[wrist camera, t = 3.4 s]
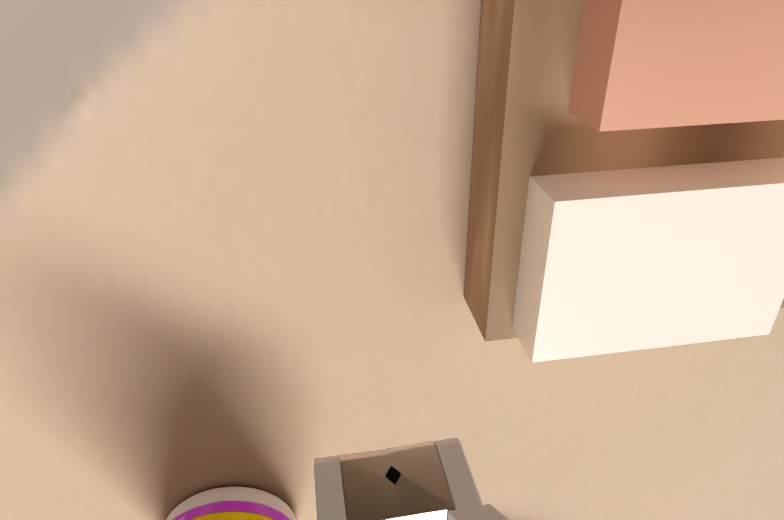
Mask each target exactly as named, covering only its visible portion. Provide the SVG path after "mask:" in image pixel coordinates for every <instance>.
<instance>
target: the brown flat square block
mask: <svg viewBox="0 0 784 520" xmlns="http://www.w3.org/2000/svg"><path fill="white" fill-rule="evenodd" d="M583 5H584V0H482V4H481V21H480V38H479V54H478V71H477V88H476V105H475V122H474V138H473V155H472V172H471V189H470V206H469V223H468V239H467V256H466V273H465V290H464V298H465V300H466V302H467V304H468V306H469V309H470V311H471V313H472V315H473V317H474V319H475V321H476V323H477V325H478V327H479V329H480V331H481V333H482V335H483V338H484V340H485V341H492V340H501V339H510V338H518V337H517V335H516V334H515V332H514V330H513V328H512V324H513V316H514V307H515V298H516V290H517V281H518V272H519V264H520V255H521V246H522V238H523V229H524V220H525V212H526V203H527V194H528V185H529V177H530V176H542V175H556V174H569V173H582V172H596V171H609V170H622V169H635V168H649V167H662V166H675V165H689V164H702V163H715V162H729V161H742V160H755V159H769V158H782V157H783V158H784V120H770V121H755V122H739V123H724V124H709V125H694V126H678V127H663V128H648V129H633V130H617V131H602V132H599V131H597V130H596V129H594V128H593V127H591V126H590V125H588V124H586V123H585V122H583V121H582V120H580V119H578V118H577V117H575V116H574V115H572V114H570V113H569V112H568V110H569V103H570V96H571V89H572V82H573V75H574V68H575V61H576V54H577V47H578V40H579V33H580V26H581V19H582V12H583ZM780 308H784V299H783V301H782V304H781V306H780Z"/></svg>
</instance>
